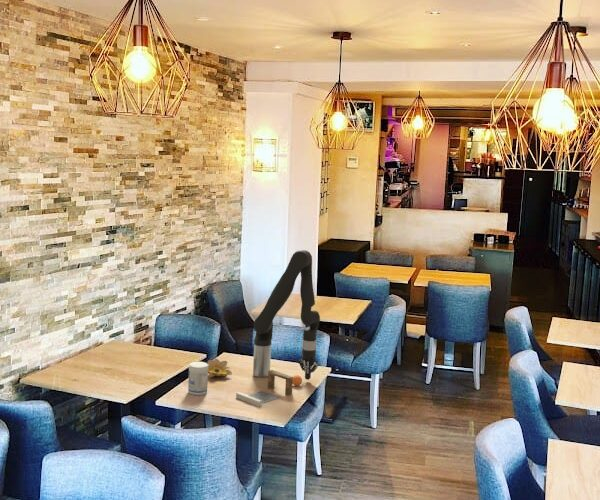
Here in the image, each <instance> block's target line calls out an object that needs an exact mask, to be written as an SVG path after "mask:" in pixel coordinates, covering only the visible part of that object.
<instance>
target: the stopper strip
mask: <svg viewBox="0 0 600 500" xmlns="http://www.w3.org/2000/svg"><path fill="white" fill-rule="evenodd" d="M235 398H236V399H238V400H240V401H244V402H246V403H248V404H252V405H253V406H256V407H261V406H262V407H263V404H262V400H259V399H256V398H254V397H251V396H249V394H245V393H243V392H241V391H238V392H236V393H235Z"/></svg>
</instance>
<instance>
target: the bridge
mask: <svg viewBox="0 0 600 500" xmlns="http://www.w3.org/2000/svg"><path fill="white" fill-rule="evenodd" d="M275 377H277V378H281V379H283V380H285V390H284V393H285V394H284V395H285V396H288V397H289V396H291V395H293V386H294V385H293V377H294V376H292V375H288V374H285V373H283V372H279V371H277V370H273V369H270V371H268V376H267V389H268V390H272V389H275Z"/></svg>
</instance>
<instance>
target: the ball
mask: <svg viewBox="0 0 600 500" xmlns="http://www.w3.org/2000/svg"><path fill="white" fill-rule="evenodd" d="M292 377H293V385H292V386H295V387H297V386H300V385H302V383H303V378H302V377H301V376H300V375H296V374H295V375H293V376H292Z"/></svg>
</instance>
